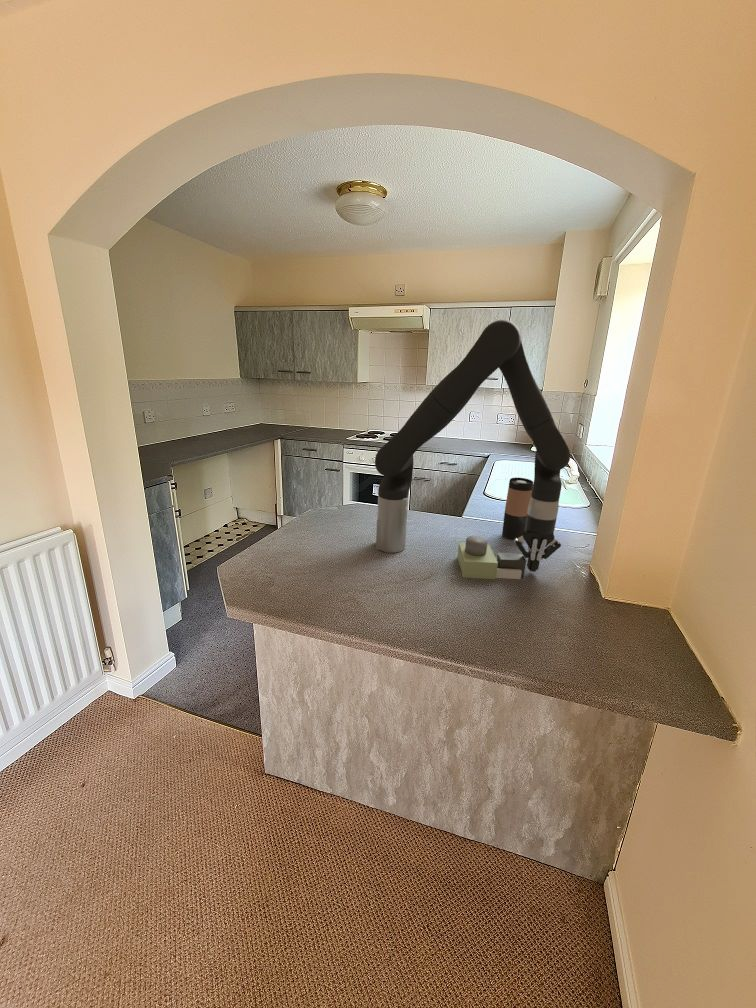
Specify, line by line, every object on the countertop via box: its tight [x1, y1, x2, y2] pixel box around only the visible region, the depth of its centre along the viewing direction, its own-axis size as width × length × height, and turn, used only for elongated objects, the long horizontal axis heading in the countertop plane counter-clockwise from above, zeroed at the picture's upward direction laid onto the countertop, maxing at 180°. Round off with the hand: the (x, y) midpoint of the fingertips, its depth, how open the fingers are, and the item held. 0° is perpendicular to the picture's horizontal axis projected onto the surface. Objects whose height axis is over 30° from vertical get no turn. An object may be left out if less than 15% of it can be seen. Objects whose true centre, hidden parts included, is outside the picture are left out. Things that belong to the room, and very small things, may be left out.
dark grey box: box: [496, 552, 527, 578], centre depth 116 cm, size 7×4×5 cm, turn 87°
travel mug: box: [501, 477, 534, 541], centre depth 138 cm, size 8×8×20 cm
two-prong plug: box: [456, 535, 522, 580], centre depth 117 cm, size 16×12×8 cm
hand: (532, 570), depth 116 cm, fingers closed
